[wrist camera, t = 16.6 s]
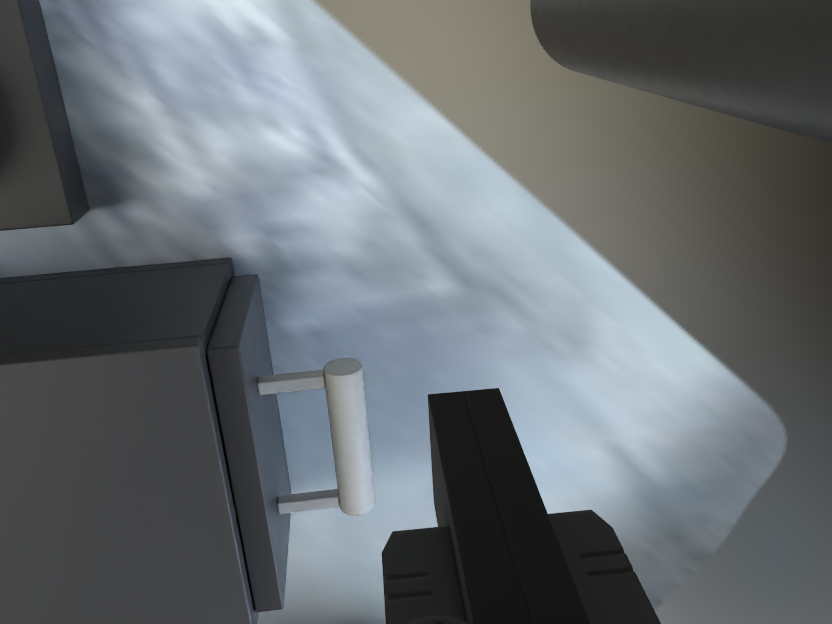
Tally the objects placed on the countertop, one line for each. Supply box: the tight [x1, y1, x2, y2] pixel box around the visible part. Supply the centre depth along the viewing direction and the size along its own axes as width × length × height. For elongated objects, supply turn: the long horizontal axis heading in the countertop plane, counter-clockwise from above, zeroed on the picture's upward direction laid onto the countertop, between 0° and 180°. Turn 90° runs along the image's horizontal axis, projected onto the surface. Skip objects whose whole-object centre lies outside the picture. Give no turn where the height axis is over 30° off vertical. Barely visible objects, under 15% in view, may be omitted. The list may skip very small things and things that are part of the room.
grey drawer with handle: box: [205, 274, 376, 612], centre depth 32 cm, size 19×12×8 cm, turn 93°
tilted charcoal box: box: [0, 258, 258, 624], centre depth 32 cm, size 16×14×10 cm
